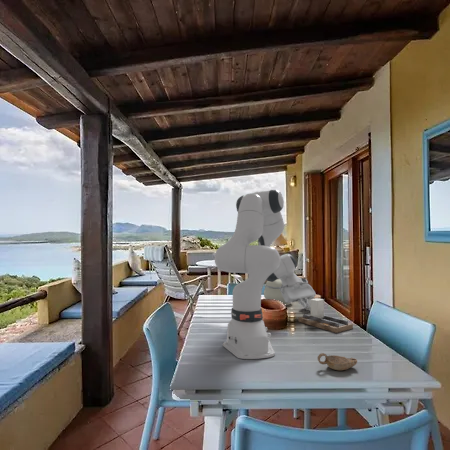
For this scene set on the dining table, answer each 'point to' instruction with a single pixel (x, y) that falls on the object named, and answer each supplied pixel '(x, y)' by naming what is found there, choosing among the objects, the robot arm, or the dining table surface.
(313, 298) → the lidded jar
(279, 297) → the kettle
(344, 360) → the oil lamp
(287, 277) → the robot arm
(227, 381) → the dining table surface
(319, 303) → the switch knob
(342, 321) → the switch housing
